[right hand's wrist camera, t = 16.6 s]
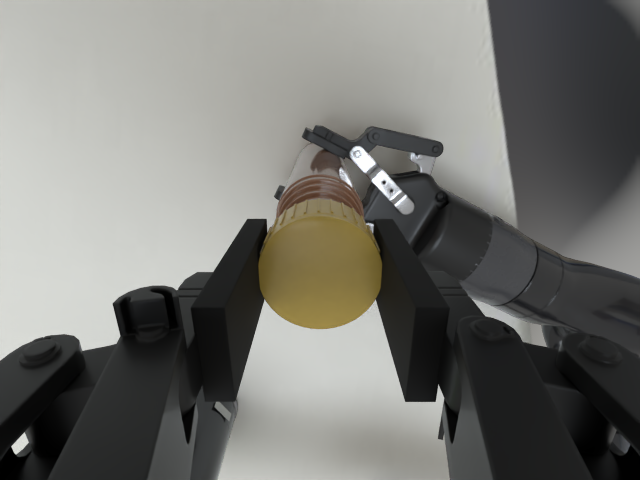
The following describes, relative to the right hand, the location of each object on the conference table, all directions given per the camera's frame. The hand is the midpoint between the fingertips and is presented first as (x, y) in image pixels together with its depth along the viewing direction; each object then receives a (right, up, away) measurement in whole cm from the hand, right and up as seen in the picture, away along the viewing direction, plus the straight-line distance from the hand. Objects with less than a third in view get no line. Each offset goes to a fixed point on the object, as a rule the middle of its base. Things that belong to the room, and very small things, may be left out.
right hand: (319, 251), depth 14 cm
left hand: (-2, +7, +14) cm, 16 cm away
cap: (0, -1, -2) cm, 2 cm away
